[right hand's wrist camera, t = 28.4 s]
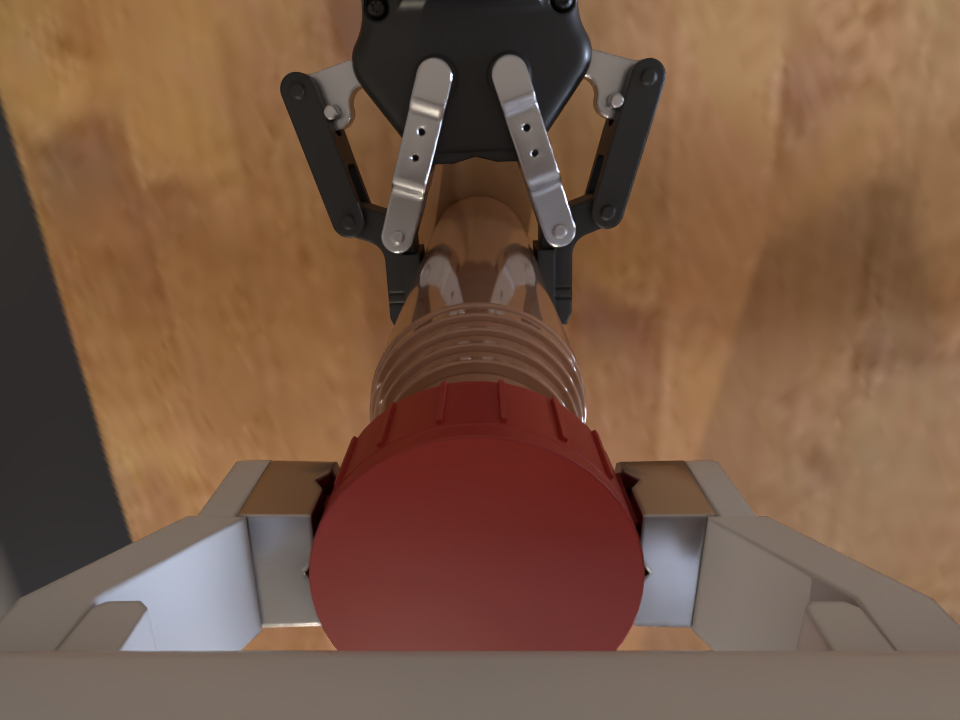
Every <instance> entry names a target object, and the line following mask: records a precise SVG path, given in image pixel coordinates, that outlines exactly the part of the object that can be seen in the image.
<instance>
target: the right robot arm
mask: <svg viewBox="0 0 960 720" xmlns="http://www.w3.org/2000/svg"><path fill="white" fill-rule="evenodd" d="M339 469H340V467H339V465H338V463H337V462H322V461H272V460H248V461H238V462H236V463H235V465H234V466H233V467H232V469H231V470H230V472H229V473H228V474H227V476H226V477H225V478H224V480H223V481H222V483H221V484H220V485H219V487H218V488H217V490H216V491H215V492H214V494H213V495H212V496H211V498H210V499H209V501H208V502H207V503H206V505H205V506H204V508H203V509H202V510H201V512H200V513H199V514H198V516H187V517H185V518H183V519H181V520H179V521H177V522H175V523H173V524H171V525H168V526H166V527H164V528H162V529H160V530H158V531H156V532H154V533H152V534H150V535H148V536H146V537H144V538H142V539H140V540H138V541H136V542H134V543H132V544H130V545H128V546H126V547H124V548H122V549H120V550H118V551H116V552H113V553H111V554H109V555H107V556H105V557H103V558H101V559H99V560H97V561H95V562H93V563H91V564H89V565H87V566H85V567H83V568H81V569H79V570H77V571H75V572H73V573H71V574H69V575H67V576H65V577H63V578H60V579H58V580H56V581H54V582H52V583H50V584H48V585H46V586H44V587H42V588H40V589H38V590H36V591H34V592H32V593H30V594H28V595H26V596H24V597H22V598H20V599H19V600H18V601H17V602H16V603H15V604H14V605H13V606H12V607H11V608H10V609H9V610H8V611H7V612H6V613H5V614H4V615H3V616H2V617H1V619H0V720H960V627H959V626H958V625H957V624H956V623H955V621H954V620H953V619H952V618H951V617H950V616H949V615H948V614H947V613H946V612H945V611H944V610H943V609H942V608H941V607H940V606H939V605H938V603H937V602H936V601H935V600H934V599H932V598H930V597H928V596H926V595H924V594H922V593H920V592H918V591H916V590H914V589H912V588H910V587H908V586H906V585H904V584H902V583H900V582H898V581H896V580H894V579H892V578H890V577H888V576H886V575H884V574H882V573H880V572H878V571H876V570H874V569H872V568H870V567H868V566H866V565H864V564H862V563H860V562H858V561H855V560H853V559H851V558H849V557H847V556H845V555H843V554H841V553H839V552H837V551H835V550H833V549H831V548H829V547H827V546H825V545H823V544H821V543H819V542H817V541H815V540H813V539H811V538H809V537H807V536H805V535H803V534H801V533H799V532H797V531H795V530H793V529H791V528H789V527H787V526H785V525H783V524H781V523H779V522H777V521H775V520H773V519H771V518H769V517H767V516H756V515H755V513H754V512H753V511H752V509H751V508H750V506H749V505H748V504H747V502H746V501H745V499H744V498H743V497H742V495H741V494H740V492H739V491H738V490H737V488H736V487H735V485H734V484H733V483H732V481H731V480H730V478H729V477H728V476H727V474H726V473H725V471H724V470H723V469H722V467H721V466H720V464H719V463H718V462H716V461H714V460H696V461H684V460H683V461H641V462H619V463H616V467H615V474H616V473H619V476H620V478H621V481H622V484H623V486H624V487H625V489H626V492H627V495H628V497H629V500H630V504H631V506H632V509H633V511H634V514H635V516H636V519H637V527H636V529H637V532H638V535H639V538H640V542H641V546H642V550H643V554H644V566H645V579H644V591H643V595H642V599H641V603H640V607H639V611H638V613H637V615H636V618H635V620H634V623H633V625H632V626H657V627H692V631H693V632H694V633H696V634H697V635H698V636H699V637H700V638H701V639H702V640H703V641H704V642H705V643H706V644H708V645H709V646H710V647H711V648H712V649H713V650H714V651H240V650H241V649H242V648H243V647H245V646H246V645H247V644H248V643H249V642H250V641H251V640H252V639H253V638H255V637H256V636H257V635H258V634H259V633H260V632H261V631H262V627H296V626H322V625H321V623H320V621H319V619H318V617H317V614H316V611H315V607H314V604H313V601H312V597H311V591H310V584H309V559H310V553H311V548H312V543H313V539H314V537H315V534H316V531H317V528H318V526H319V523H320V520H321V518H322V515H323V513H324V511H325V508H324V503H325V500H326V498H327V496H329V495H331V493H332V490H333V488H334V482H335V479H336V477H337V474H338V472H339Z"/></svg>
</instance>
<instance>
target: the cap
mask: <svg viewBox="0 0 960 720" xmlns="http://www.w3.org/2000/svg"><path fill="white" fill-rule="evenodd" d="M324 508H325V511H324V513H323V515H322V518H321V520H320V523H319V526H318V528H317V531H316V534H315V537H314V539H313V543H312V548H311V553H310V559H309V584H310V591H311V597H312V601H313V604H314V607H315V611H316V614H317V617H318V619H319V621H320V623H321V625H322V627H323V629H324V631H325V633H326V634H327V636H328V637H329V639H330V641H331V642H332V644H333V645H334V647H335V648H336V649H337V650H338V651H616V650H617V649H618V647H619V646H620V645H621V644H622V642H623V641H624V639H625V637H626V636H627V634H628V632H629V631H630V629H631V627H632V625H633V623H634V620H635V618H636V615H637V613H638V611H639V607H640V603H641V599H642V595H643V591H644V579H645V566H644V554H643V550H642V546H641V542H640V538H639V535H638V532H637V529H636V527H637V519H636V516H635V514H634V511H633V509H632V506H631V504H630V500H629V497H628V495H627V492H626V489H625V487H624V486H623V484H622V481H621V478H620V476H619V473H616V474H615V472H614V469H613V467H612V465H611V462H610V460H609V457H608V455H607V453H606V451H605V450H604V448H603V445H602V442H601V440H600V437H599V434H598V432H597V431H596V430H593V431H591V430H590V429H589V428H588V426H587V425H586V424H585V423H583V422H582V421H581V420H580V419H579V418H578V417H577V416H576V415H575V414H574V413H572V412H571V411H569V410H568V409H566V408H565V407H564V406H562V405H561V404H559V402H558V399H557V398H555V397H552V399H550V398H548V397H546V396H544V395H542V394H540V393H537V392H534V391H531V390H529V389H526V388H523V387H519V386H515V385H510V384H506V383H504V380H498V382H489V381H463V382H456V383H449V384H447V382H446V381H444V382H441V384H440V385H439V386H436V387H432V388H428V389H425V390H422V391H420V392H417V393H415V394H413V395H410V396H408V397H406V398H404V399H402V400H401V401H399V402H397V403H395V402H394V401H392V402H391V403H389V405H388V409H386V410H385V411H384V412H382V413H381V414H380V415H378V416H377V417H376V418H375V419H374V420H373V421H372V422H371V423H370V424H369V425H368V426H367V427H366V428H365V429H364V430H363V431H362V433H361V434H360V435H359V437H358V438H357V437H355V436H354V437H353V438H352V440H351V442H350V445H349V447H348V450H347V452H346V455H345V457H344V459H343V462H342V464H341V467H340V469H339V472H338V474H337V477H336V479H335V482H334V488H333V490H332V493H331V495H329V496H327V498H326V500H325V503H324Z"/></svg>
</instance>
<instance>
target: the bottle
mask: <svg viewBox="0 0 960 720" xmlns="http://www.w3.org/2000/svg"><path fill="white" fill-rule="evenodd" d="M498 380H504V383H506V384H510V385H515V386H519V387H523V388H526V389H529V390H531V391H534V392H537V393H540V394H542V395H544V396H546V397H548V398H550V399H552V397H555V398H557V399H558V402H559V404H561V405H562V406H564V407H565V408H566V409H568V410H569V411H571V412H572V413H574V414H575V415H576V416H577V417H578V418H579V419H580V420H581V421H582V422H583V423H585V424H586V414H587V413H586V395H585V386H584V381H583V376H582V373H581V371H580V368H579V365H578V362H577V360H576V357H575V355H574V352H573V350H572V347H571V345H570V342H569V340H568V337H567V335H566V332H565V330H564V327H563V325H562V322H561V320H560V317H559V315H558V313H557V310H556V308H555V305H554V303H553V300H552V298H551V295H550V293H549V290H548V288H547V285H546V283H545V280H544V278H543V275H542V273H541V270H540V268H539V265H538V263H537V260H536V258H535V255H534V253H533V250H532V248H531V245H530V243H529V240H528V238H527V235H526V233H525V230H524V228H523V225H522V223H521V221H520V219H519V218H518V216H517V215H516V213H515V212H514V211H513V210H512V209H511V208H510V207H508V206H507V205H506V204H504V203H503V202H501V201H499V200H497V199H494V198H490V197H485V196H475V197H469V198H465V199H462V200H460V201H458V202H456V203H454V204H453V205H452V206H450V207H449V208H448V209H447V210H446V211H445V212H444V213H443V215H442V216H441V218H440V219H439V221H438V223H437V225H436V228H435V230H434V232H433V235H432V237H431V240H430V242H429V244H428V247H427V249H426V252H425V254H424V256H423V259H422V261H421V263H420V266H419V268H418V271H417V273H416V275H415V278H414V280H413V283H412V285H411V287H410V290H409V292H408V294H407V297H406V299H405V302H404V304H403V306H402V309H401V311H400V314H399V316H398V318H397V321H396V323H395V325H394V328H393V330H392V333H391V335H390V337H389V340H388V342H387V345H386V347H385V349H384V352H383V354H382V356H381V359H380V361H379V364H378V366H377V368H376V371H375V375H374V378H373V382H372V389H371V401H370V422H372V421H373V420H374V419H375V418H376V417H377V416H378V415H380V414H381V413H382V412H384V411H385V410H386V409H388V405H389V403H391V402H392V401H394V402H395V403H397V402H399V401H401V400H402V399H404V398H406V397H408V396H410V395H413V394H415V393H417V392H420V391H422V390H425V389H428V388H432V387H436V386H439V385H440V384H441V382H444V381H446V382H447V384H449V383H456V382H463V381H489V382H498Z"/></svg>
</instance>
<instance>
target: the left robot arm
mask: <svg viewBox="0 0 960 720" xmlns="http://www.w3.org/2000/svg"><path fill="white" fill-rule="evenodd" d="M361 1H362V24H361V29H360V33H359V36H358V39H357V41H356V44H355V46H354V49H353V53H352V59H351V60H348V61H346V62H343V63H340V64H337V65H335V66H332V67H329V68H326V69H323V70H321V71H318V72H315V73H312V74H304V73H300V72H292V73H289V74H287V75H286V76H285V77H284V78H283V80H282V82H281V86H280V91H281V95H282V98H283V101H284V103H285V106H286V108H287V111H288V113H289V116H290V118H291V121H292V123H293V126H294V129H295V131H296V134H297V136H298V139H299V141H300V144H301V146H302V149H303V151H304V154H305V156H306V159H307V161H308V164H309V166H310V169H311V172H312V174H313V177H314V179H315V182H316V184H317V187H318V189H319V192H320V194H321V197H322V199H323V202H324V204H325V207H326V210H327V212H328V215H329V217H330V220H331V222H332V225H333V227H334V229H335V231H336V232H337V233H338V234H339V235H341V236H343V237H346V238H352V237H355V238H359V239H362V240H365V241H368V242H371V243H373V244H375V245H377V246H378V247H379V248H380V249H381V250H382V252H383V254H384V256H385V261H386V272H387V284H388V293H389V304H390V305H389V306H390V318H391V320H392V322H393V324H394V325H395V323H396V321H397V318H398V316H399V314H400V311H401V309H402V306H403V304H404V302H405V299H406V297H407V294H408V292H409V290H410V287H411V285H412V283H413V280H414V278H415V275H416V273H417V271H418V268H419V266H420V263H421V261H422V259H423V256H424V254H425V249H424V244H419V239H418V231H419V227H420V224H421V220H422V216H423V212H424V208H425V204H426V200H427V196H428V192H429V189H430V186H431V182H432V178H433V174H434V170H435V166H436V164H452V163H457V162H460V161H463V160H466V159H469V158H472V157H480V158H484V159H488V160H492V161H496V162H502V161H517V164H518V167H519V170H520V173H521V176H522V179H523V181H524V184H525V187H526V190H527V192H528V195H529V198H530V201H531V204H532V207H533V210H534V213H535V216H536V219H537V222H538V240H534V241H533V253H534V255H535V258H536V260H537V263H538V265H539V268H540V270H541V273H542V275H543V278H544V280H545V283H546V285H547V288H548V290H549V293H550V295H551V298H552V300H553V303H554V305H555V308H556V310H557V313H558V315H559V317H560V320H561V322H562V324H567V322H568V320H569V317H570V315H571V312H572V251H573V247H574V245H575V243H576V242H577V241H578V240H579V239H580V238H581V237H582V236H584V235H586V234H588V233H591V232H593V231H596V230H598V229H601V228H604V229H609V228H613V227H615V226H616V225H618V224H619V223H620V221H621V220H622V218H623V215H624V212H625V208H626V205H627V202H628V199H629V196H630V192H631V189H632V186H633V183H634V179H635V176H636V173H637V170H638V166H639V163H640V160H641V157H642V154H643V150H644V147H645V144H646V141H647V137H648V134H649V131H650V128H651V124H652V121H653V118H654V115H655V112H656V108H657V105H658V102H659V99H660V95H661V92H662V89H663V86H664V82H665V79H666V72H665V68H664V66H663V65H662V63H661V62H660V61H658V60H656V59H653V58H646V59H641V60H638V61H635V60H631V59H627V58H623V57H619V56H616V55H612V54H608V53H604V52H601V51H597V50H593V49H592V47H591V42H590V39H589V37H588V35H587V33H586V31H585V29H584V27H583V25H582V22H581V19H580V15H579V11H578V0H361ZM583 79H585V80H587V81H588V82H589V83H590V84H591V86H592V87H593V91H594V99H593V106H594V109H595V111H596V113H597V114H598V115H599V116H600V117H602V118H605V119H606V121H605V125H604V128H603V132H602V135H601V139H600V142H599V146H598V149H597V153H596V156H595V160H594V163H593V167H592V170H591V174H590V177H589V181H588V184H587V188H586V191H585V195H583V196H581V197H578V198H576V199H573V200H571V201H569V202H567V199H566V196H565V193H564V189H563V186H562V183H561V177H560V173H559V170H558V167H557V163H556V160H555V157H554V154H553V151H552V148H551V145H550V141H549V138H548V135H547V132H548V131H549V129H550V128H551V126H552V125H553V123H554V122H555V120H556V119H557V117H558V116H559V114H560V113H561V111H562V110H563V108H564V107H565V105H566V104H567V102H568V101H569V99H570V98H571V96H572V95H573V93H574V92H575V90H576V89H577V87H578V86H579V84H580V83H581V81H582V80H583ZM361 88H363V89H364V90H365V91H366V93H367V94H368V95H369V96H370V98H371V99H372V100H373V102H374V103H375V104H376V105H377V107H378V108H379V109H380V111H381V112H382V113H383V114H384V116H385V117H386V118H387V119H388V121H389V122H390V123H391V125H392V126H393V127H394V128H395V130H396V131H397V132H398V134H399V135H400V136H401V137H402V142H401V146H400V151H399V155H398V159H397V163H396V168H395V172H394V176H393V182H392V191H391V195H390V200H389V204H388V208H384V207H380V206H377V205H374V204H371V201H370V199H369V196H368V193H367V191H366V188H365V185H364V183H363V180H362V177H361V174H360V172H359V169H358V166H357V164H356V161H355V158H354V156H353V153H352V150H351V147H350V145H349V142H348V139H347V137H346V134H345V131H344V129H346V128H348V127H350V126H351V125H352V123H353V121H354V119H355V109H354V98H355V95H356V93H357V92H358V91H359V90H360V89H361Z"/></svg>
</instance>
